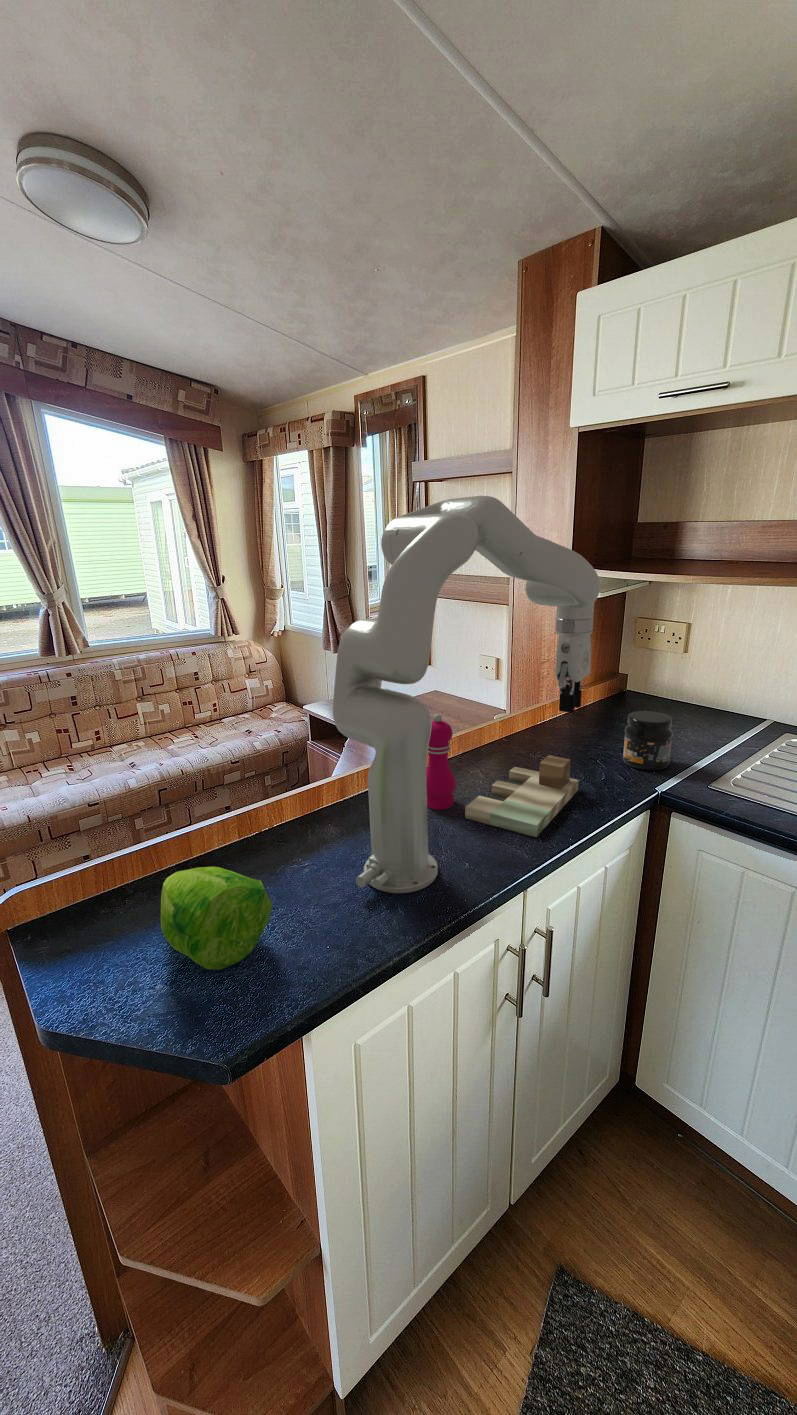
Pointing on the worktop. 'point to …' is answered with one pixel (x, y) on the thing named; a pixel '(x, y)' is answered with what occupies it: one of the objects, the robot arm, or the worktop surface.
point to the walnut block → (554, 772)
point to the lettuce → (213, 915)
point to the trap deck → (521, 803)
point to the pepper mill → (439, 766)
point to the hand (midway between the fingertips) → (569, 708)
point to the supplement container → (648, 740)
